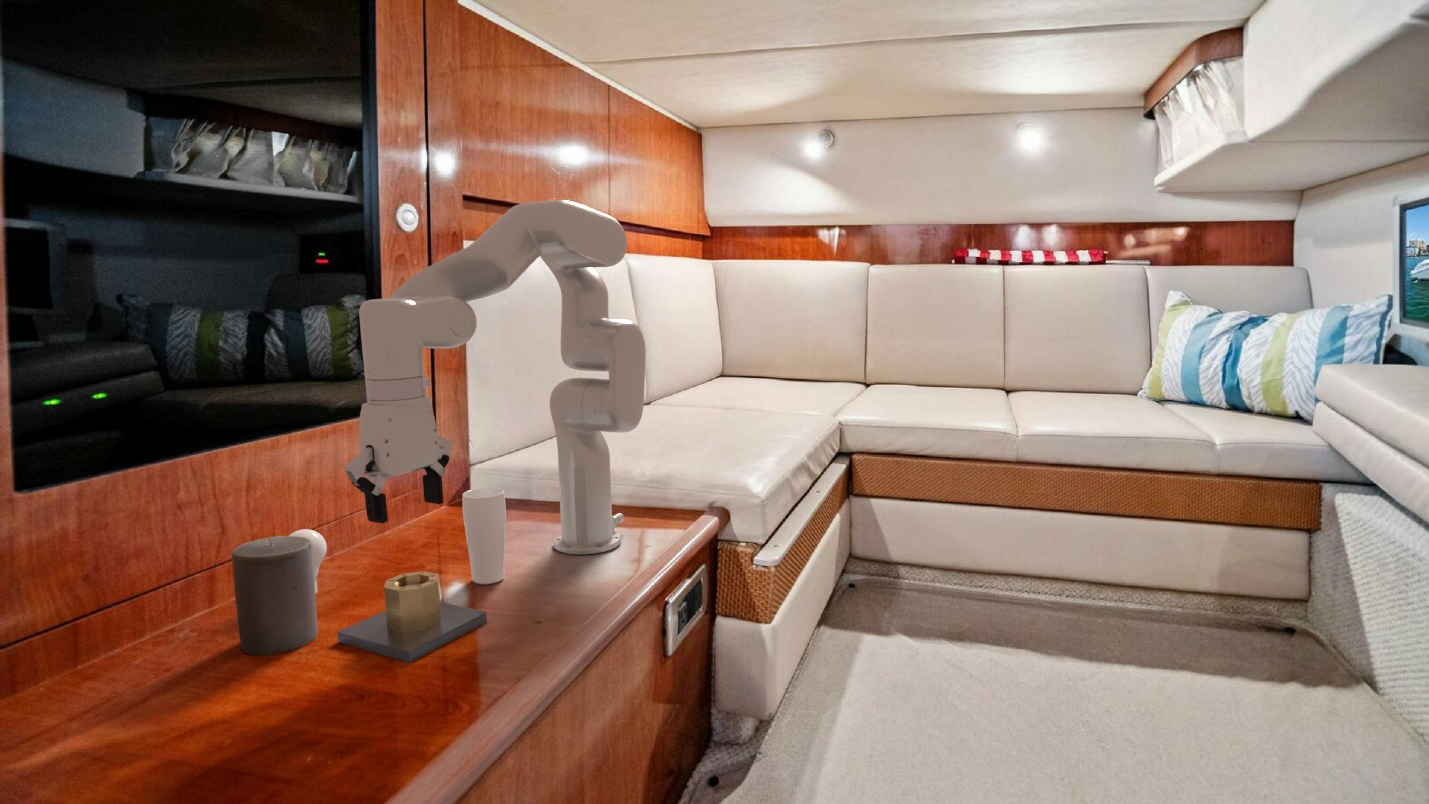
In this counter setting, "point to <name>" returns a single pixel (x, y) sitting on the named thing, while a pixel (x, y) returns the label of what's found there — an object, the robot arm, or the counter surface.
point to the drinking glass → (485, 533)
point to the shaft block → (411, 633)
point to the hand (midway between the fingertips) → (407, 511)
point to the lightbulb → (314, 549)
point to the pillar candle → (275, 594)
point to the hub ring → (412, 601)
